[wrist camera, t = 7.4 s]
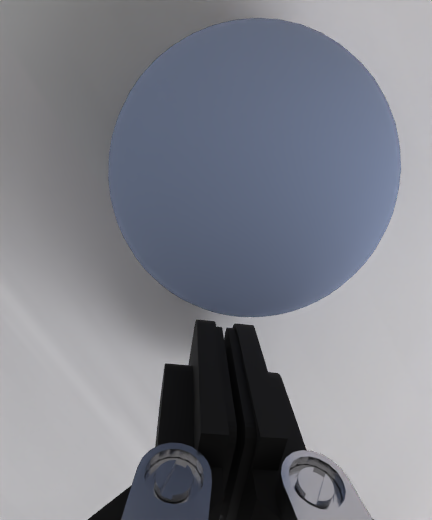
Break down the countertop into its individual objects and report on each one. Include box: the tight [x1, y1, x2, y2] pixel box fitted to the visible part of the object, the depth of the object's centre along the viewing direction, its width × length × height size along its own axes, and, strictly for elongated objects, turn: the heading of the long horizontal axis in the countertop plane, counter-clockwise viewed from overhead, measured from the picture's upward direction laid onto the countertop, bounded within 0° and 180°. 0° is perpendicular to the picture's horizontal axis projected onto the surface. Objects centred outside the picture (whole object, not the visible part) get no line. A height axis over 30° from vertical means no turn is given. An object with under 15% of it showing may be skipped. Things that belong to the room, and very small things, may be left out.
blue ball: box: [108, 18, 401, 317], centre depth 7 cm, size 6×6×6 cm
